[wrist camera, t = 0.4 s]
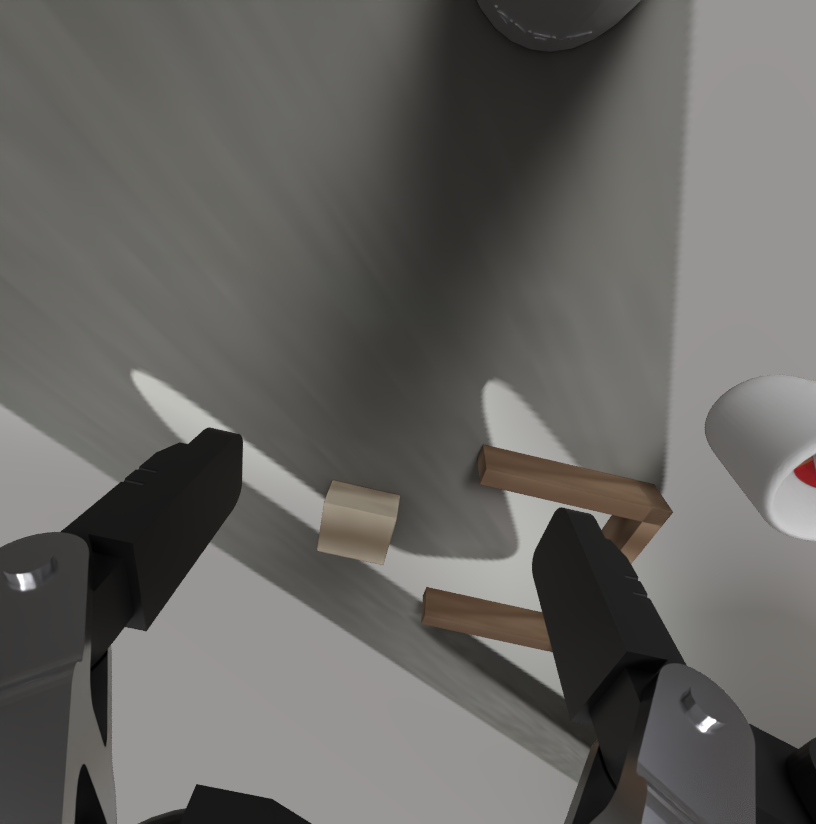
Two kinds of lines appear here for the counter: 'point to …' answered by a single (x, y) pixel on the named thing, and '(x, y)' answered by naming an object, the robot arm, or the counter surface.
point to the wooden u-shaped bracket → (621, 497)
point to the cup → (771, 448)
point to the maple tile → (357, 522)
